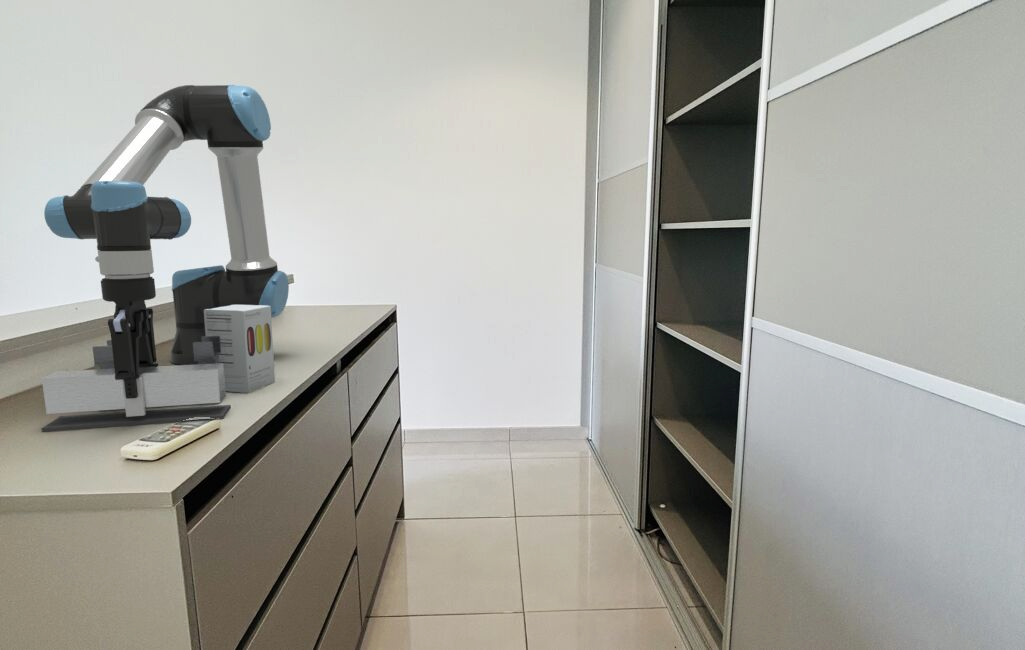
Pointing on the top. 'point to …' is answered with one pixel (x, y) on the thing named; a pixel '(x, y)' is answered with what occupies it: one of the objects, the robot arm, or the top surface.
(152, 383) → the rail
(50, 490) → the top surface
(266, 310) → the supplement box
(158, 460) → the top surface
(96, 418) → the mat
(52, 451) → the top surface
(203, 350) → the standards
